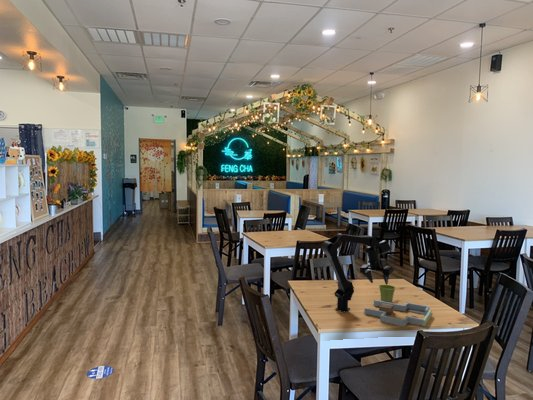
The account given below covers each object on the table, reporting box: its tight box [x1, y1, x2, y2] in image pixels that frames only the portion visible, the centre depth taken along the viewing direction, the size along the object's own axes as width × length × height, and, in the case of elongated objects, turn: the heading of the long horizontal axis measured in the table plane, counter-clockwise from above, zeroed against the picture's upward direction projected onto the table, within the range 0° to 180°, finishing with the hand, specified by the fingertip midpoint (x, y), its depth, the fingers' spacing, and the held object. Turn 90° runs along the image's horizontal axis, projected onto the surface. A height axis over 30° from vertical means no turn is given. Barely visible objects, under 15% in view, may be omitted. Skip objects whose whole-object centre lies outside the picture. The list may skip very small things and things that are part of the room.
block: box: [378, 303, 394, 316], centre depth 209 cm, size 6×6×4 cm
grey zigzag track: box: [363, 299, 432, 327], centre depth 206 cm, size 29×30×3 cm
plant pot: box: [378, 284, 397, 303], centre depth 228 cm, size 9×9×9 cm
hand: (379, 283), depth 220 cm, fingers open, 9 cm apart
